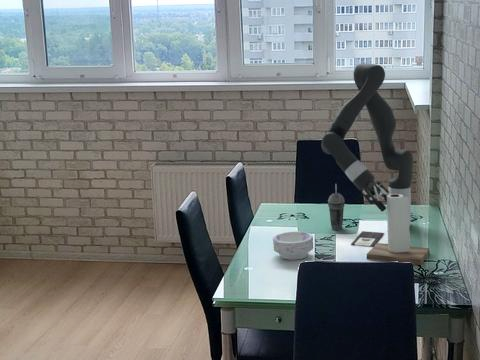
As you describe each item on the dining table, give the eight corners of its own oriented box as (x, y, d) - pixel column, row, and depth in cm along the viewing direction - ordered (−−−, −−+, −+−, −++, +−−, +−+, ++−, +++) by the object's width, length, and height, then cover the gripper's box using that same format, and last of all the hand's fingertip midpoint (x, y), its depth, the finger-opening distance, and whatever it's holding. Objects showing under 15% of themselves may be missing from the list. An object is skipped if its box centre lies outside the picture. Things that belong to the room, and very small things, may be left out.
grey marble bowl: (267, 253, 274) (266, 234, 273) (302, 247, 280) (302, 228, 278) (283, 265, 261) (282, 244, 259) (320, 258, 266) (320, 238, 264)
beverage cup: (345, 225, 306) (344, 181, 302) (345, 230, 299) (345, 184, 295) (328, 226, 307) (327, 181, 303) (328, 231, 300) (327, 185, 296)
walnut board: (377, 247, 275) (377, 243, 274) (429, 253, 266) (429, 248, 265) (366, 259, 263) (366, 253, 262) (420, 265, 254) (420, 259, 253)
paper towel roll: (384, 250, 266) (383, 195, 261) (398, 246, 268) (396, 192, 263) (396, 255, 259) (394, 198, 255) (409, 251, 262) (408, 196, 257)
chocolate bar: (383, 232, 292) (373, 245, 276) (383, 235, 292) (373, 248, 276) (362, 231, 296) (351, 243, 280) (362, 233, 296) (351, 246, 280)
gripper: (358, 172, 258) (388, 205, 254) (373, 165, 270) (402, 196, 266) (345, 185, 262) (375, 218, 258) (360, 177, 274) (388, 208, 270)
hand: (388, 207), depth 262 cm, fingers open, 8 cm apart
